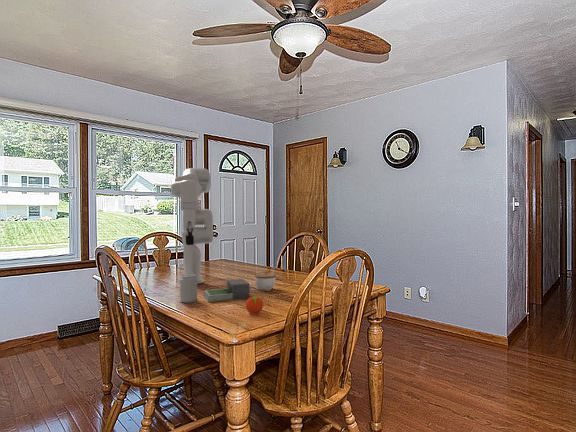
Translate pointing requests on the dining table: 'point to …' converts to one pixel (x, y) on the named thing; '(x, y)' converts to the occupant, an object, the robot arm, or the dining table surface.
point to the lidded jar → (265, 281)
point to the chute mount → (229, 291)
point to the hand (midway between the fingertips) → (189, 244)
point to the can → (188, 288)
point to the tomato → (254, 305)
